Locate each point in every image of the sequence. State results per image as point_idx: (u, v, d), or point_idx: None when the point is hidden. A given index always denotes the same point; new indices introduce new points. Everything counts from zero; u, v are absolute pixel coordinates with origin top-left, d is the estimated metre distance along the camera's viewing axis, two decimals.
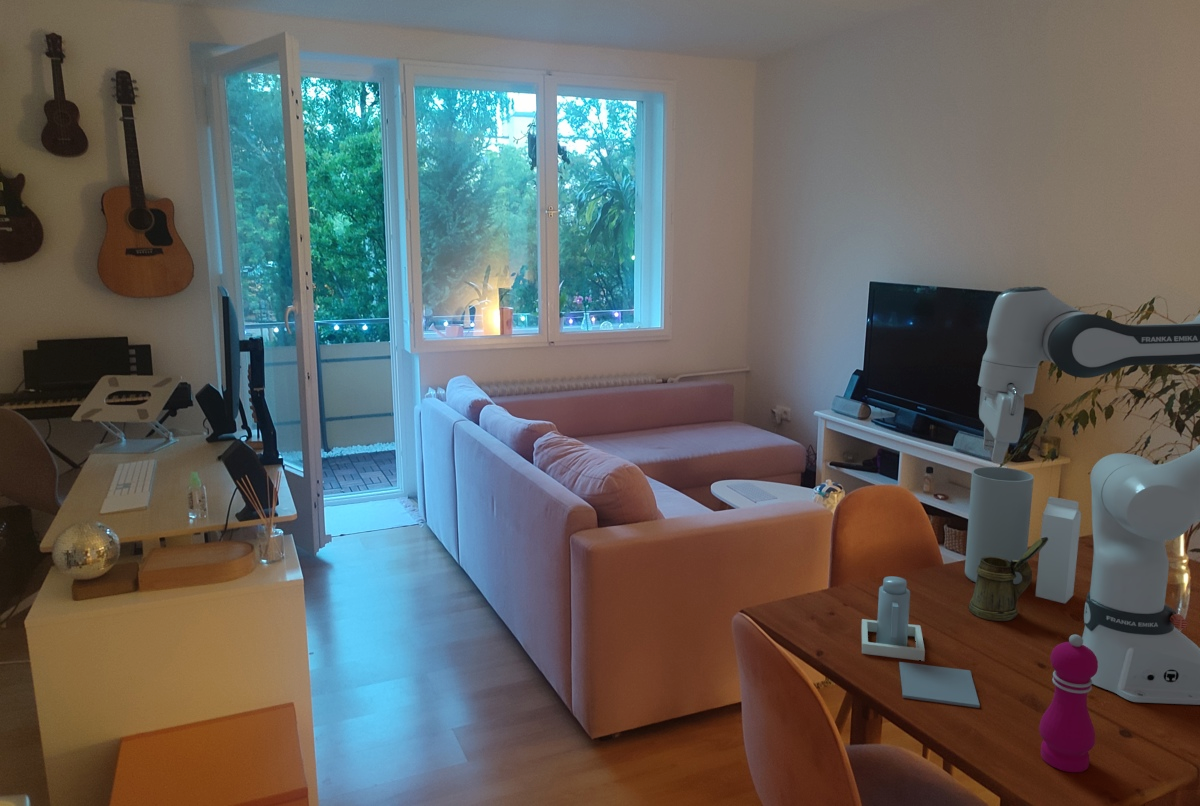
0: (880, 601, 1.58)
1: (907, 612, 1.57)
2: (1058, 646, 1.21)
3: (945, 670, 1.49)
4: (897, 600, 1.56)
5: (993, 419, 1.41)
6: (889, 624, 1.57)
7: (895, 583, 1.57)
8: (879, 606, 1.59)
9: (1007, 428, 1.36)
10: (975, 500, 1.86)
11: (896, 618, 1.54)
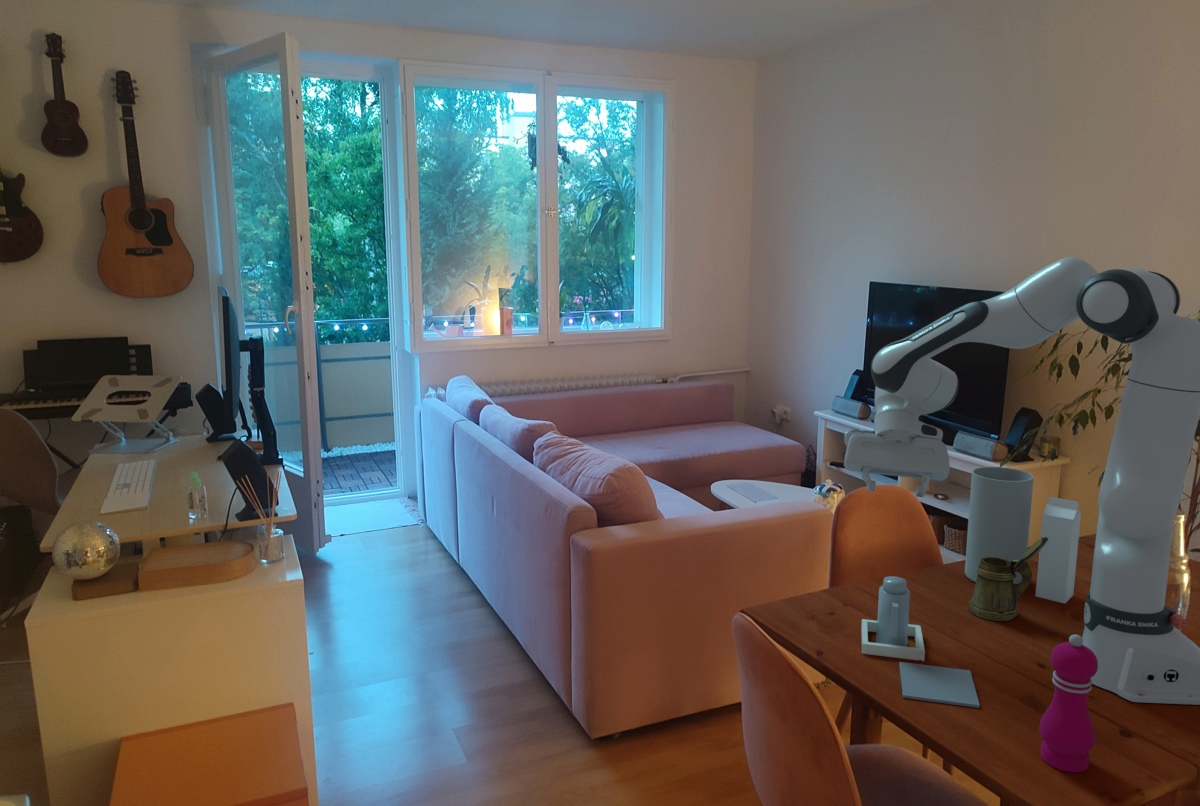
0: (880, 601, 1.58)
1: (907, 612, 1.57)
2: (1058, 646, 1.21)
3: (945, 670, 1.49)
4: (897, 600, 1.56)
5: None
6: (889, 624, 1.57)
7: (895, 583, 1.57)
8: (879, 606, 1.59)
9: None
10: (975, 500, 1.86)
11: (896, 618, 1.54)
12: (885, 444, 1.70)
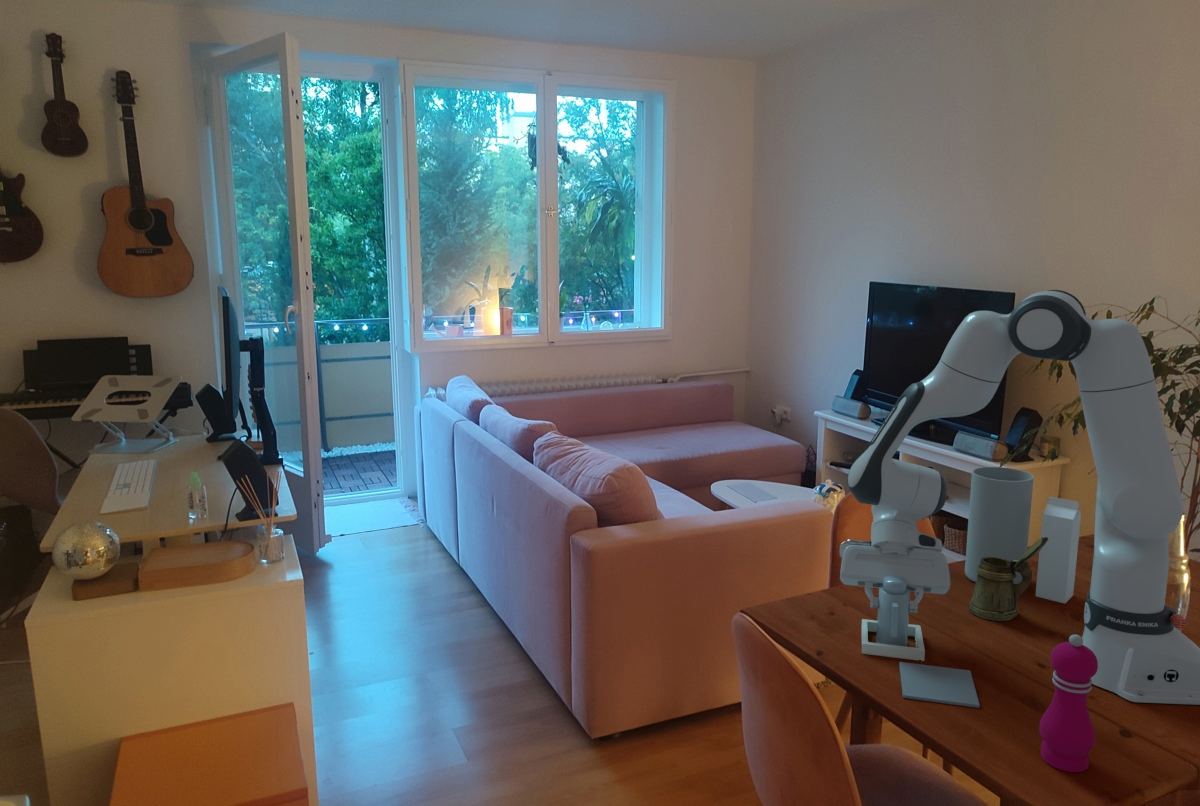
0: (880, 601, 1.58)
1: (907, 612, 1.57)
2: (1058, 646, 1.21)
3: (945, 670, 1.49)
4: (897, 600, 1.56)
5: None
6: (889, 624, 1.57)
7: (895, 583, 1.57)
8: (879, 606, 1.59)
9: None
10: (975, 500, 1.86)
11: (896, 618, 1.54)
12: (881, 556, 1.63)
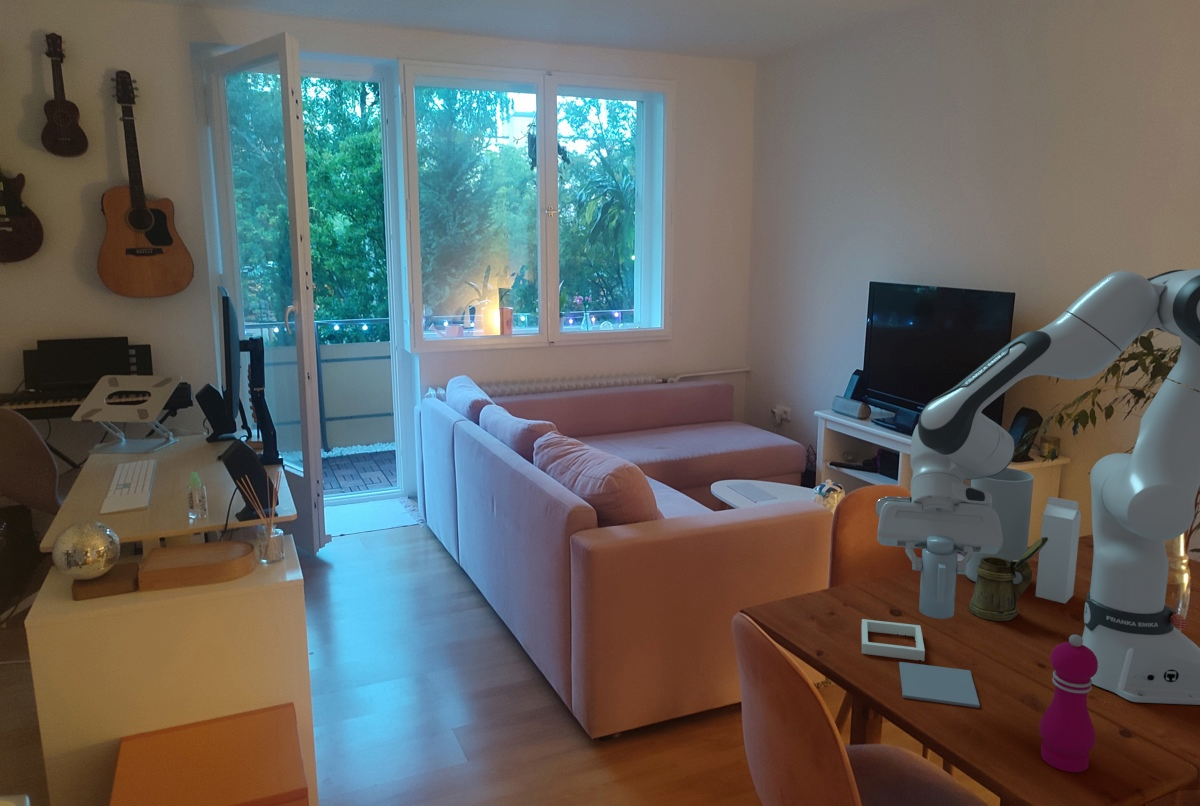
0: (924, 563, 1.41)
1: (955, 575, 1.40)
2: (1058, 646, 1.21)
3: (945, 670, 1.49)
4: (944, 561, 1.39)
5: None
6: (934, 588, 1.40)
7: (940, 542, 1.40)
8: (922, 569, 1.42)
9: None
10: None
11: (943, 581, 1.37)
12: (923, 512, 1.46)
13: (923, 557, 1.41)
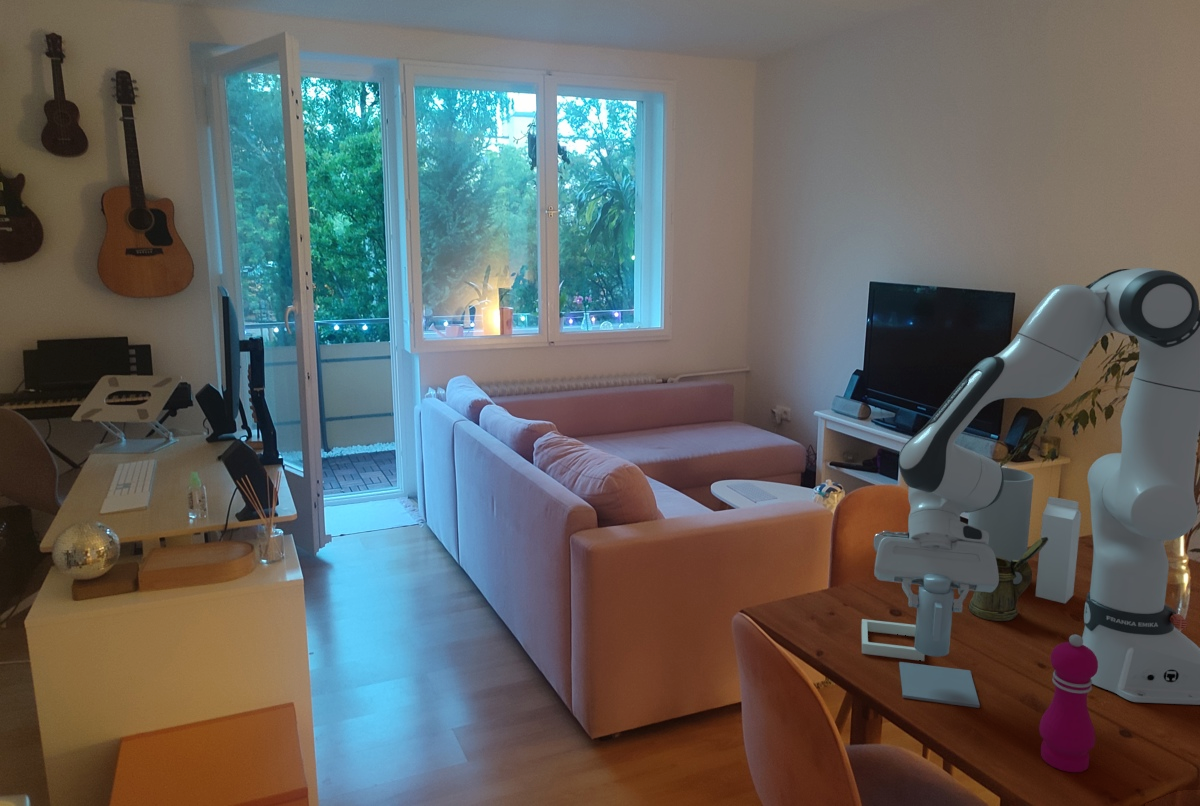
0: (920, 601, 1.42)
1: (950, 613, 1.41)
2: (1058, 646, 1.21)
3: (945, 670, 1.49)
4: (940, 600, 1.40)
5: None
6: (930, 627, 1.41)
7: (937, 581, 1.41)
8: (919, 606, 1.43)
9: None
10: None
11: (939, 620, 1.38)
12: (921, 549, 1.47)
13: (920, 595, 1.42)
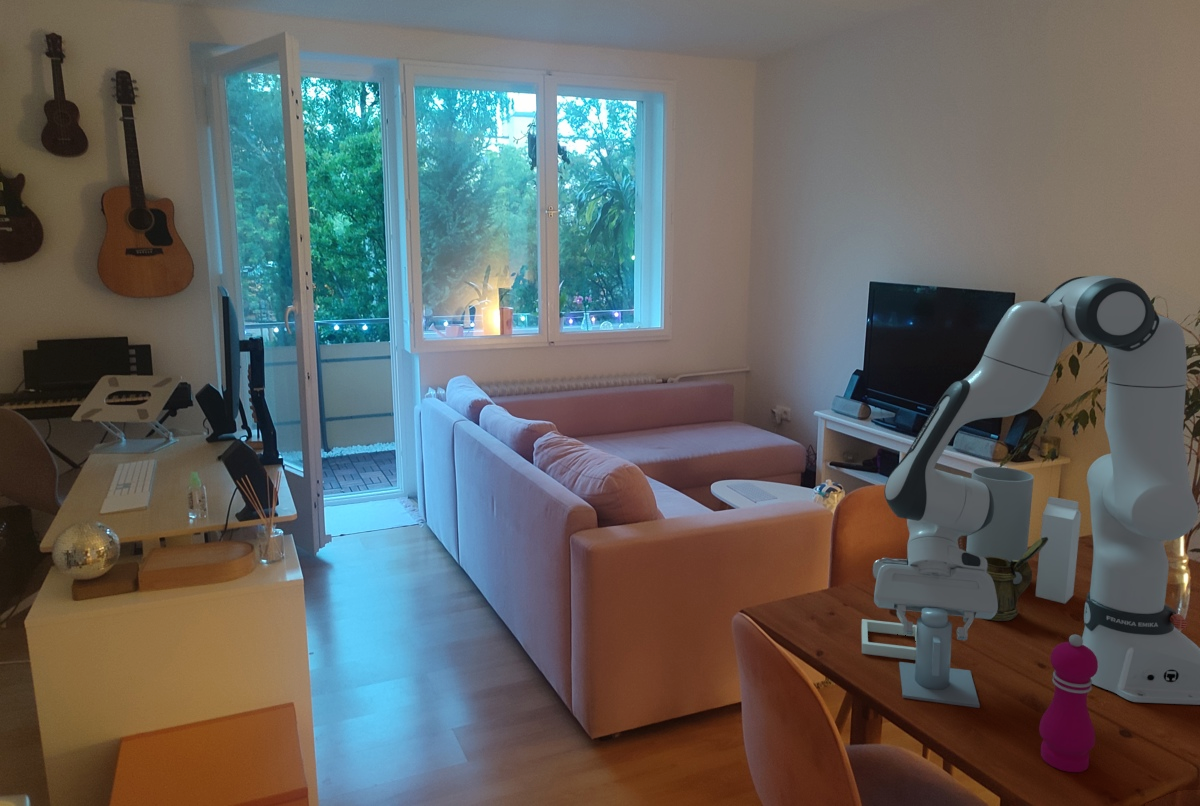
0: (919, 635, 1.43)
1: (949, 647, 1.42)
2: (1058, 646, 1.21)
3: None
4: (938, 634, 1.41)
5: None
6: (929, 660, 1.42)
7: (935, 615, 1.42)
8: (917, 640, 1.44)
9: None
10: None
11: (938, 655, 1.39)
12: (920, 576, 1.48)
13: (918, 629, 1.43)
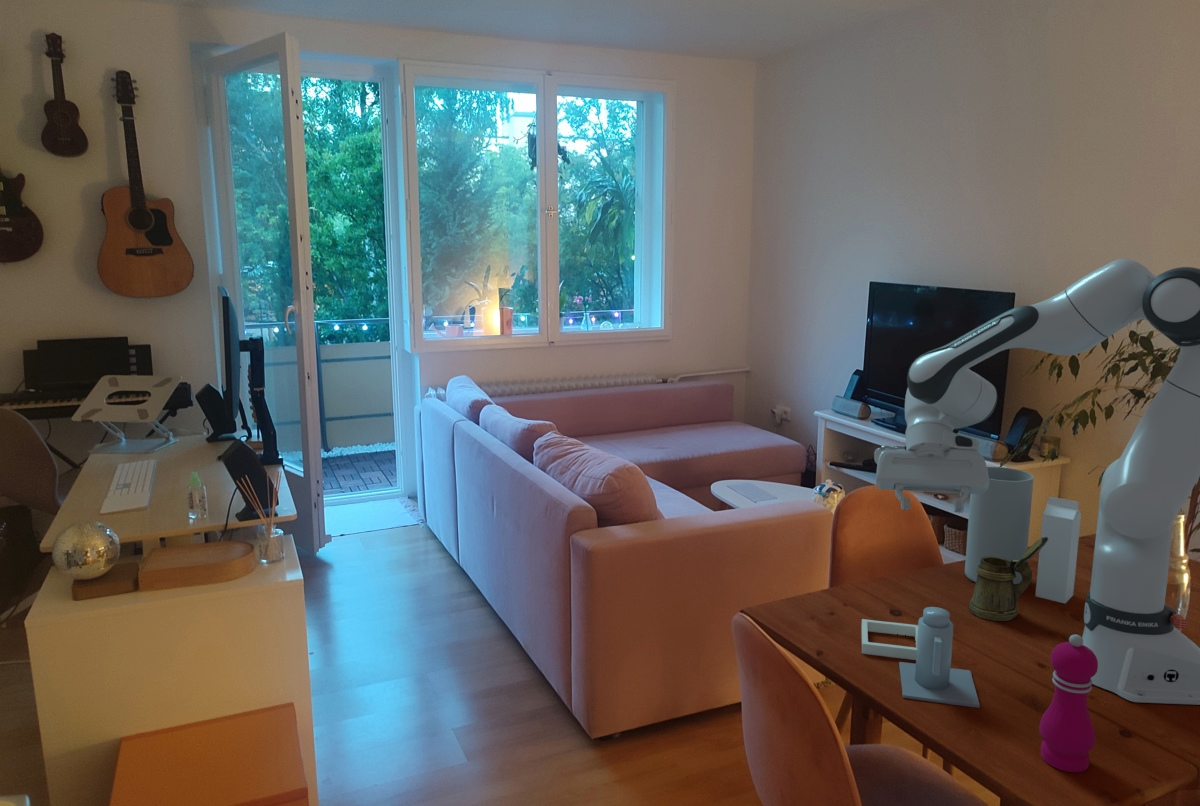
0: (920, 635, 1.43)
1: (950, 647, 1.42)
2: (1058, 646, 1.21)
3: None
4: (939, 634, 1.41)
5: None
6: (930, 660, 1.42)
7: (936, 615, 1.42)
8: (919, 640, 1.44)
9: None
10: (975, 500, 1.86)
11: (939, 654, 1.39)
12: (917, 458, 1.61)
13: (919, 629, 1.43)
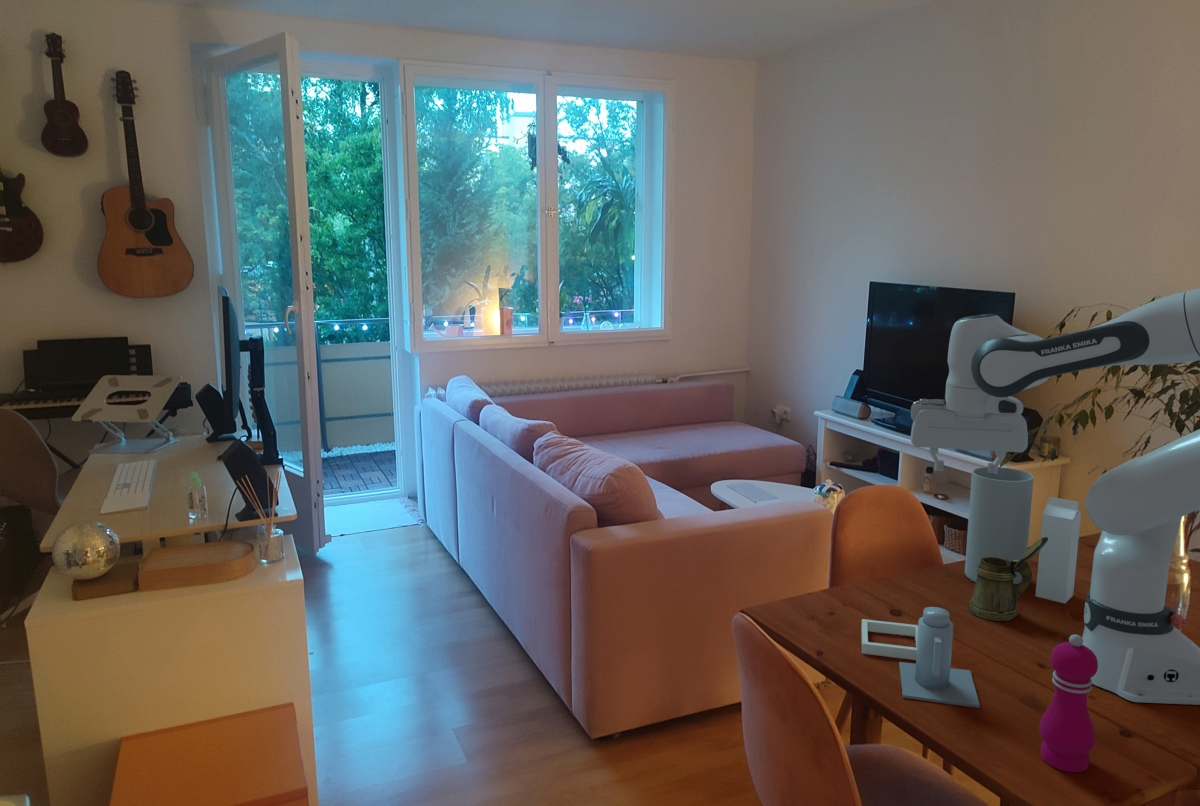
0: (920, 635, 1.43)
1: (950, 647, 1.42)
2: (1058, 646, 1.21)
3: None
4: (939, 634, 1.41)
5: None
6: (930, 660, 1.42)
7: (936, 615, 1.42)
8: (919, 640, 1.44)
9: (911, 432, 1.60)
10: (975, 500, 1.86)
11: (939, 654, 1.39)
12: (956, 420, 1.56)
13: (919, 629, 1.43)
